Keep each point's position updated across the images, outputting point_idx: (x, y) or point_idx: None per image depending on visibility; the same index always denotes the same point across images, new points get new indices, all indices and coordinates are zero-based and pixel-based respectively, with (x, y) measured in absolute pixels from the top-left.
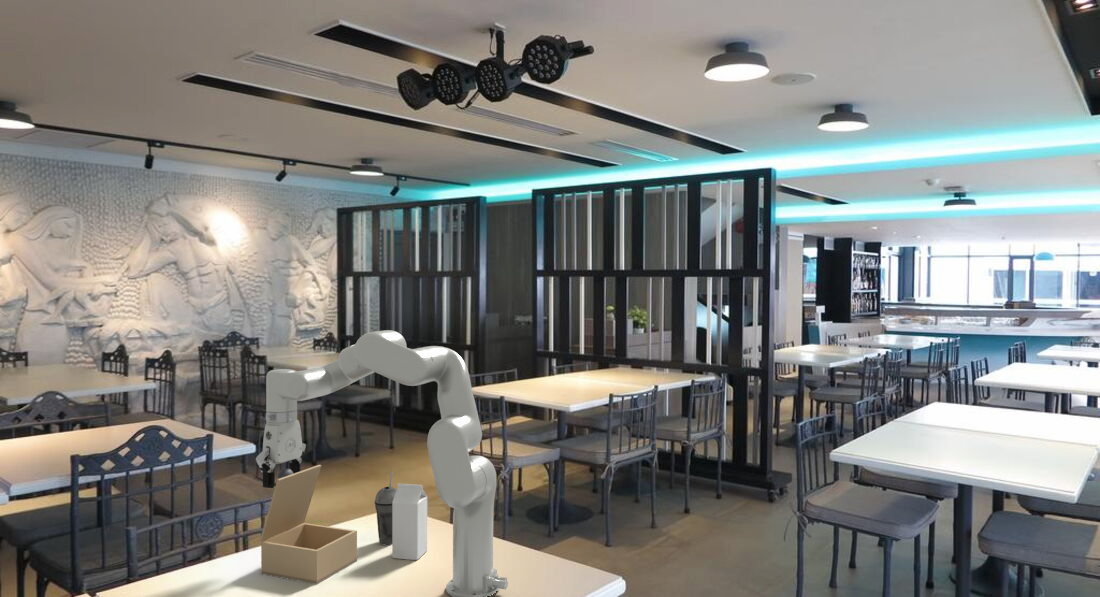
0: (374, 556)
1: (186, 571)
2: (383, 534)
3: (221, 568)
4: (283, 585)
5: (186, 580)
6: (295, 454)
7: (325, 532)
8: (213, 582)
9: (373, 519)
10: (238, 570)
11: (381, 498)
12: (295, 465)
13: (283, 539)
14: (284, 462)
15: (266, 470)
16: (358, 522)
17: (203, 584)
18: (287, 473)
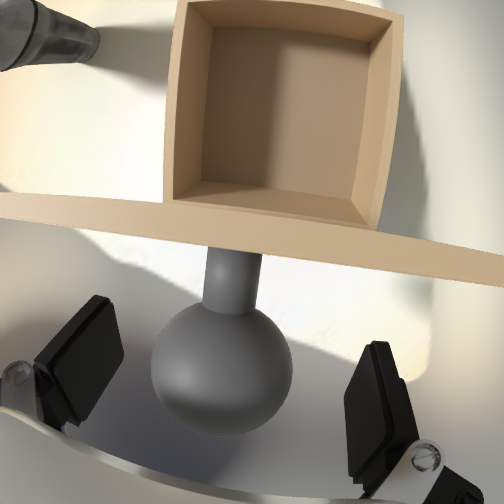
0: (167, 7)
1: (360, 355)
2: (85, 33)
3: (338, 310)
4: (405, 115)
5: (401, 330)
6: (47, 486)
7: (182, 109)
8: (410, 279)
9: (7, 172)
10: (343, 271)
11: (19, 19)
12: (68, 380)
13: (283, 206)
14: (283, 496)
15: (444, 468)
16: (24, 189)
17: (420, 291)
18: (252, 365)
